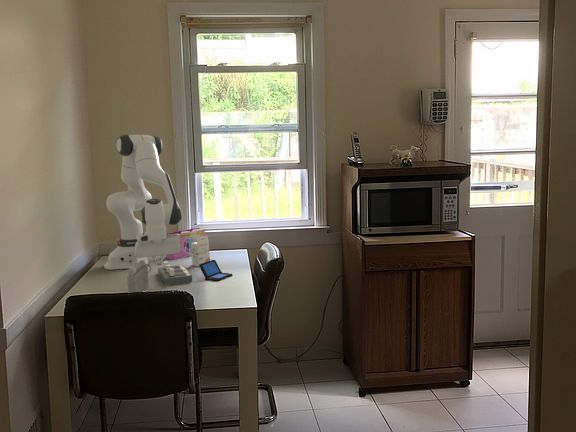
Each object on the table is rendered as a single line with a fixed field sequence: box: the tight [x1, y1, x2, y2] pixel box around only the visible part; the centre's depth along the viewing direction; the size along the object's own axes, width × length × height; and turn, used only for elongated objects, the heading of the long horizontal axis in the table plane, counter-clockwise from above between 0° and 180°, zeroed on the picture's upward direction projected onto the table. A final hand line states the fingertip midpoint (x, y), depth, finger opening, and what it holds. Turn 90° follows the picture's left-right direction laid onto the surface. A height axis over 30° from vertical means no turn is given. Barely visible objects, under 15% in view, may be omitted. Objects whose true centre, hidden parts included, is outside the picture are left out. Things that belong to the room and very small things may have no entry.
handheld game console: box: [198, 259, 233, 282], centre depth 279 cm, size 12×11×7 cm
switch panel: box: [157, 264, 193, 286], centre depth 282 cm, size 12×24×3 cm, turn 20°
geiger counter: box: [126, 260, 152, 293], centre depth 250 cm, size 14×6×25 cm
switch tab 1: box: [162, 260, 170, 269], centre depth 288 cm, size 2×3×3 cm, turn 20°
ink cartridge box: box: [191, 235, 211, 267], centre depth 307 cm, size 9×5×15 cm, turn 143°
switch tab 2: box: [169, 268, 175, 276], centre depth 273 cm, size 2×3×3 cm, turn 21°
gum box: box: [165, 227, 206, 260], centre depth 331 cm, size 24×8×14 cm, turn 134°
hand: (159, 265), depth 270 cm, fingers closed
